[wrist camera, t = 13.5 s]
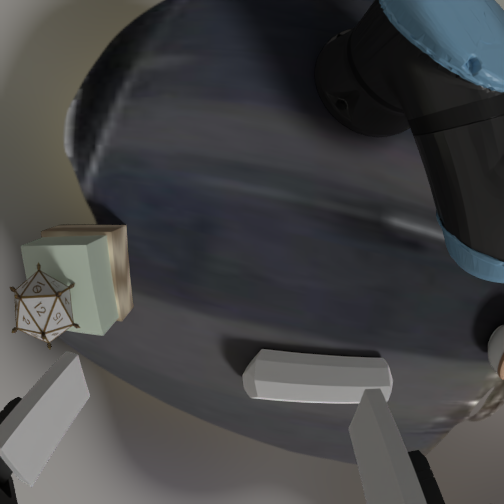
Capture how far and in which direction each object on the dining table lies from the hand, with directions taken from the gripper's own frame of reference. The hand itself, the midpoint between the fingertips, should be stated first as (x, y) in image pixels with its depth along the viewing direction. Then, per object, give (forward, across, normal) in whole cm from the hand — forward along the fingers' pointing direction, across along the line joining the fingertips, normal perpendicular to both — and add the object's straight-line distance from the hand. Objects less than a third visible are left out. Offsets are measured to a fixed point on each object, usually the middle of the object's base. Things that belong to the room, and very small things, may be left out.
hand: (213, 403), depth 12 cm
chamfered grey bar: (+28, +13, -19) cm, 36 cm away
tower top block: (+22, -22, -5) cm, 31 cm away
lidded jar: (+29, +51, -15) cm, 61 cm away
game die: (+17, -21, -5) cm, 28 cm away
